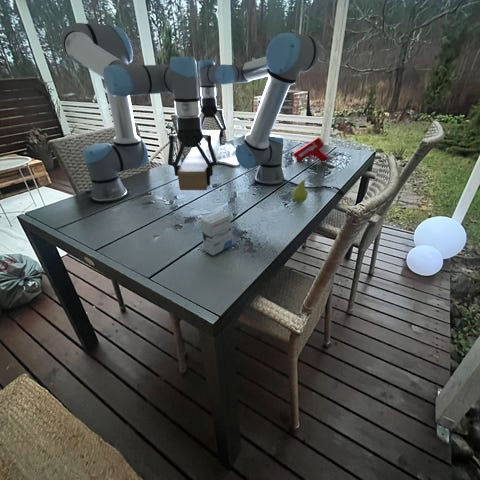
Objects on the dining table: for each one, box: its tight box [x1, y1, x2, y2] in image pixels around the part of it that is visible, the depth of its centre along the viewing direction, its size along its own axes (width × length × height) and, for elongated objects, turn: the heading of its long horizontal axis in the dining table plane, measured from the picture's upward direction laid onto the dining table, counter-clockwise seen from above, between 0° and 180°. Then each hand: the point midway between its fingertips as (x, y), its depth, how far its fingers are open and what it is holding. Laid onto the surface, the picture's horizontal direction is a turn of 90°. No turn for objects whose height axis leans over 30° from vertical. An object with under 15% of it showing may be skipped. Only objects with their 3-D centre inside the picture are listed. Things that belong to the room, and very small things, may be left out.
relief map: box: [216, 142, 241, 167], centre depth 181 cm, size 27×35×5 cm
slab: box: [177, 129, 221, 191], centre depth 121 cm, size 68×9×7 cm, turn 179°
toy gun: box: [293, 136, 329, 164], centre depth 170 cm, size 18×4×15 cm
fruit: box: [291, 174, 311, 204], centre depth 118 cm, size 7×8×12 cm
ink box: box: [200, 210, 232, 257], centre depth 88 cm, size 8×5×12 cm, turn 135°
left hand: (194, 184), depth 97 cm, fingers closed on slab, 9 cm apart
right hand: (211, 143), depth 147 cm, fingers closed on slab, 9 cm apart
